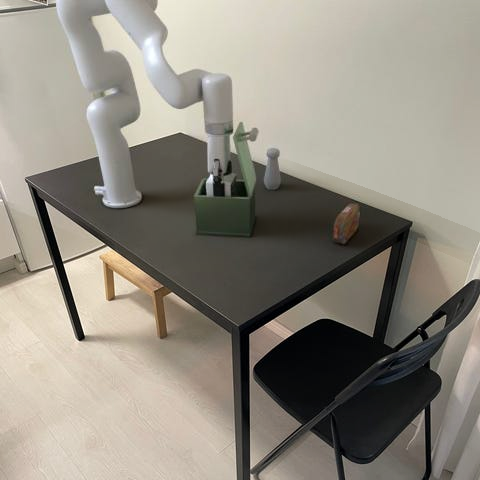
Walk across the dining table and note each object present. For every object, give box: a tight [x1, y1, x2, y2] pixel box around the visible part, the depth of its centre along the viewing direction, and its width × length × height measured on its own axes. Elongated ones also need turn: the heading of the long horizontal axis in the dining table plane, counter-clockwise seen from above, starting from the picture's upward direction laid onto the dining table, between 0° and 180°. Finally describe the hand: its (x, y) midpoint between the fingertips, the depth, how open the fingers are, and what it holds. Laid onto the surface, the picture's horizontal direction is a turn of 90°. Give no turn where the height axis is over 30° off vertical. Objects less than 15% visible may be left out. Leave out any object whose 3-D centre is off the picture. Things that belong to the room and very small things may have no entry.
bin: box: [193, 177, 256, 238], centre depth 141 cm, size 16×12×12 cm
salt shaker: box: [263, 147, 282, 191], centre depth 161 cm, size 6×6×13 cm
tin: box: [332, 202, 362, 245], centre depth 136 cm, size 15×3×8 cm, turn 148°
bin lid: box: [232, 121, 260, 197], centre depth 131 cm, size 16×12×5 cm
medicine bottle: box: [206, 159, 237, 197], centre depth 136 cm, size 7×7×12 cm
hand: (221, 190), depth 138 cm, fingers closed on medicine bottle, 7 cm apart
